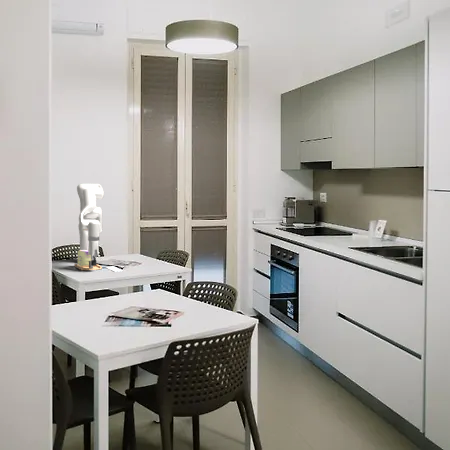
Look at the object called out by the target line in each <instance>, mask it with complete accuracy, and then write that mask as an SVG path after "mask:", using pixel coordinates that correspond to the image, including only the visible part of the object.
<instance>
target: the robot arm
mask: <svg viewBox="0 0 450 450" xmlns="http://www.w3.org/2000/svg"><path fill="white" fill-rule="evenodd" d="M76 191H77V192H76V193H77V195H78V198H79V203H80V205H79V206H80V207H79V210H80V213H79V216H78V226H77V227H78V232H79V233H78V235H79V250H88V254H89V255H90V256H91V265H92V266H96V264H97V260H98V257H99V250H100V249H99V242H100V234H102V232H103V209H102V207H101V206H97V200H103V199H104V197H105V194H104V193H105V192H104V188H103V186H102V185H101V184H100V183H80V184H79V183H78V184H77V186H76Z"/></svg>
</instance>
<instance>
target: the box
mask: <svg viewBox="0 0 450 450" xmlns="http://www.w3.org/2000/svg"><path fill="white" fill-rule="evenodd" d="M89 261H91V256H90V255H89V254H88V250H80V249H79V250H77V265H79V266H85V265H89Z"/></svg>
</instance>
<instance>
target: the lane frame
mask: <svg viewBox="0 0 450 450" xmlns="http://www.w3.org/2000/svg"><path fill="white" fill-rule="evenodd" d="M73 266H74V267H75V268H76V269H78V270H80V271H92V270H93V271H94V270H95V271H96V270H103V266H101V265H99V264H97V263H96V266H92V265H91V261H89V265H85V266H79V265H78V263H74V265H73Z"/></svg>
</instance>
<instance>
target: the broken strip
mask: <svg viewBox="0 0 450 450" xmlns="http://www.w3.org/2000/svg"><path fill="white" fill-rule="evenodd" d="M105 268H106V269H108V270H110V271H112V272H113V273H118V272H119V273H121V272H123V269H121V268H118V267H116V266H105Z"/></svg>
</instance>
